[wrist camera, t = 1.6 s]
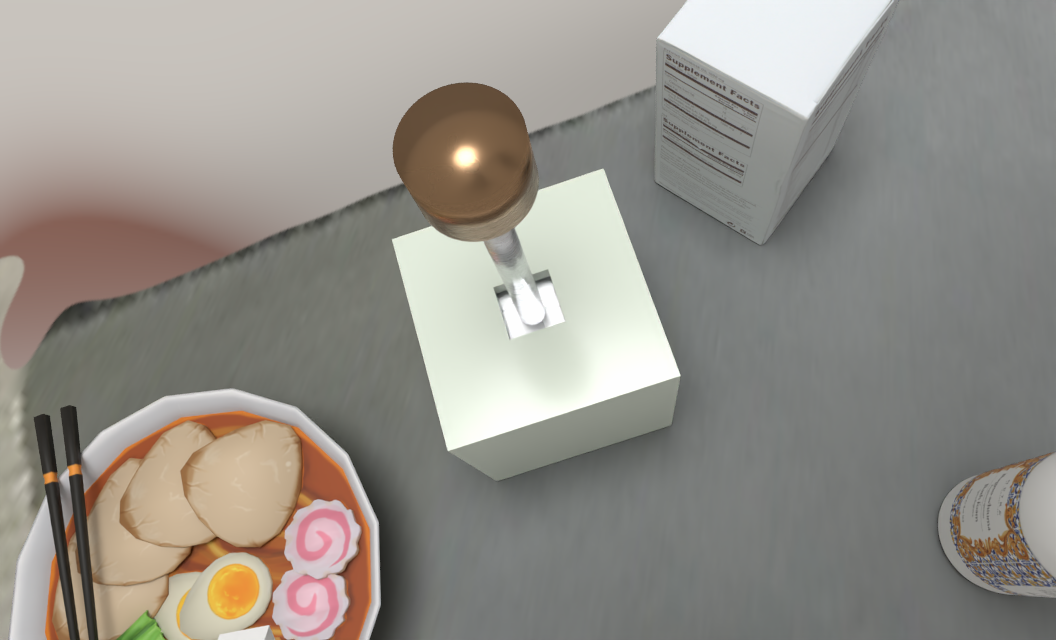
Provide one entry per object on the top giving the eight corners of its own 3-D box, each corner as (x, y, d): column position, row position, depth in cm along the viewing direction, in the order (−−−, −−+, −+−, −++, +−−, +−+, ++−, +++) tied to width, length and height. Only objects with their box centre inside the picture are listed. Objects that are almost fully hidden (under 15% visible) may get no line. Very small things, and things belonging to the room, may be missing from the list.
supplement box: (724, 85, 59) (753, -93, 43) (837, 146, 57) (912, -21, 41) (649, 183, 58) (651, 36, 42) (761, 251, 55) (808, 120, 39)
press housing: (612, 263, 56) (603, 168, 43) (671, 425, 52) (680, 375, 39) (450, 316, 57) (392, 239, 44) (496, 481, 53) (448, 451, 40)
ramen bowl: (461, 732, 49) (427, 762, 41) (111, 839, 50) (12, 888, 42) (372, 353, 57) (329, 319, 49) (71, 452, 58) (-17, 433, 50)
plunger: (589, 216, 45) (553, -16, 27) (643, 369, 42) (643, 220, 24) (432, 268, 45) (297, 73, 28) (476, 423, 42) (355, 316, 25)
